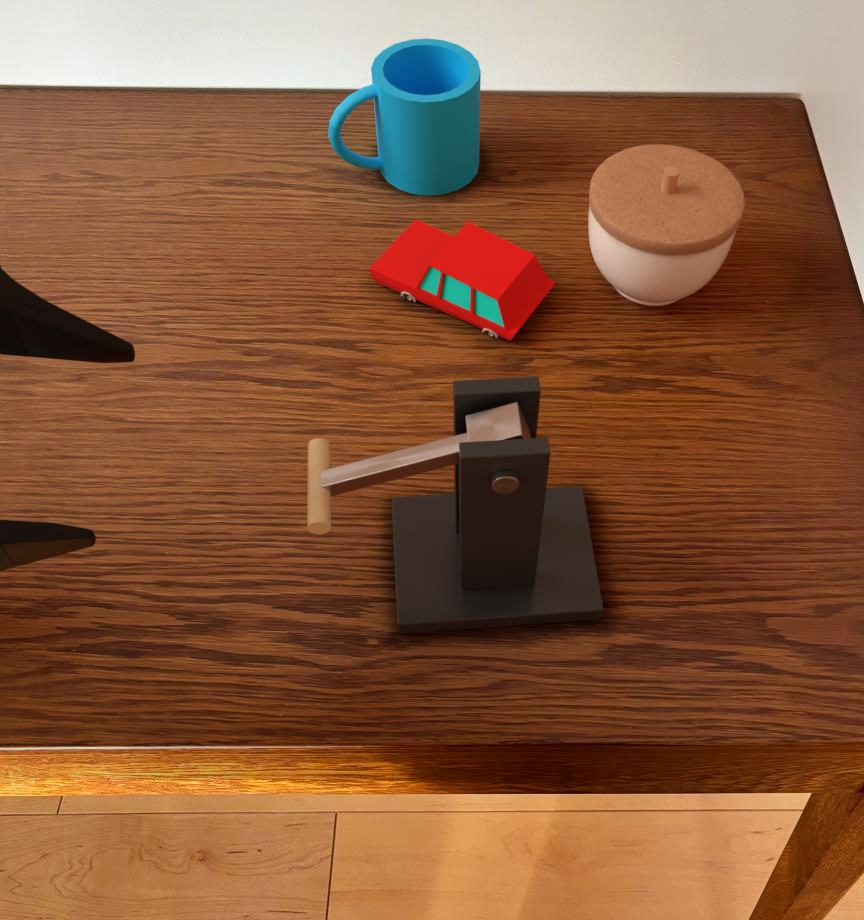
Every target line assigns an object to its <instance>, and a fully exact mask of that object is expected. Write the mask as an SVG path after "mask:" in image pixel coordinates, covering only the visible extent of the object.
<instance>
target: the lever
mask: <svg viewBox="0 0 864 920" xmlns="http://www.w3.org/2000/svg"><path fill="white" fill-rule="evenodd" d="M465 418H466V428H467V433H463V434H460V435H456V436H454V435H452V436H449V437H445V438H441V439H437V440H433V441H429V442H426V443H425V442H424V443H422V444H418V445H414V446H410V447H406V448H403V449H402V448H401V449H399V450H395V451H391V452H388V453H384V454H380V455H375V456H373V457H369V458H368V457H367V458H364V459H361V460H356V461H353V462H349V463H346V464H342V465H337V466H334V467H331V442H330V441H329V440H327V439H326V438H323V437H316V438H312V439H311V440H309V441H308V443H307V501H306V502H307V507H306V511H307V513H306V515H307V519H306V522H307V523H306V527H307V528H306V529H307V531H308V532H309V533H310V534H313V535H319V536H320V535H326V534H327V533H329V532H330V531H331V530H332V497H334V496H338V495H343V494H346V493H349V492H354V491H357V490H361V489H362V490H363V489H365V488H369V487H373V486H377V485H381V484H384V483H388V482H393V481H396V480H401V479H404V478H408V477H412V476H417V475H420V474H423V473H428V472H431V471H432V472H433V471H435V470H439V469H444V468H447V467H451V466H454V465H455V464H459V443H460V442H478V441H496V440H513V439H531V438H530V431H529V427H528V425H527V423H526V420H525V418H524V416H523V414H522V411H521V409H520V407H519V404H518V402H514V403H510V404H506V405H503V406H499V407H495V408H491V409H488V410H484V411H480V412H476V413H473V414H469V415H466V416H465Z"/></svg>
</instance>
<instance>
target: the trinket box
mask: <svg viewBox="0 0 864 920" xmlns="http://www.w3.org/2000/svg"><path fill="white" fill-rule="evenodd" d="M745 204H746V199H745V193H744V191H743V188H742V185H741V184H740V182H739V180H738V179H737V178H736V176H735V175H734V174H733V173H732V171H731V170H730V169H729V168H728V167H726V166H725V165H724V164H722V163H721V161H718V160H716V159H715V158H714V157H712V156H710V155H708V154H705V153H703V152H700V151H698V150H695V149H693V148H689V147H685V146H679V145H672V144H662V143H661V144H660V143H658V144H657V143H655V144H654V143H653V144H643V145H642V144H641V145H637V146H633V147H628V148H625V149H623V150H620V151H617V152H615V153H614V154H612V155H611V156H609V157H608V158H607V159H605V160H604V161H603V162H602V163H601V164H600V165H598V166H597V168H596V170H595V171H594V173H593V175H592V176H591V180H590V185H589V191H588V216H587V227H588V229H587V232H588V233H587V234H588V242H589V249H590V251H591V255H592V259H593V260H594V263H595V265H596V267H597V270H598V271H599V272H600V273H601V275H602V276H603V277H604V279H605V280H606V281H607V282H608V283H609V284H610V285H611V286H612V287H613V288H614V289H615V290H616V291H617V293H619V294H620V295H621V296H622V297H623V298H626V299H627V300H628V301H631V302H634V303H636V304H639V305H644V306H648V307H649V306H651V307H658V306H659V307H661V306H666V305H671V304H674V303H676V302H679V301H680V300H681V299H684V298H686V297H689V296H691V295H693V294H695V293H696V292H698V291H699V290H700V289H702V288H704V286H706V285H707V284H708V283H709V282H710V281H711V280H712V279H713V278H714V277H715V275H716V274H717V273H718V272H719V270H720V269H721V268H722V265H723V264H724V262H725V261H726V259H727V257H728V255H729V252H730V251H731V248H732V245H733V242H734V240H735V236H736V234H737V231H738V228H739V226H740V225H741V222H742V218H743V216H744V211H745V206H746V205H745Z"/></svg>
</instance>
